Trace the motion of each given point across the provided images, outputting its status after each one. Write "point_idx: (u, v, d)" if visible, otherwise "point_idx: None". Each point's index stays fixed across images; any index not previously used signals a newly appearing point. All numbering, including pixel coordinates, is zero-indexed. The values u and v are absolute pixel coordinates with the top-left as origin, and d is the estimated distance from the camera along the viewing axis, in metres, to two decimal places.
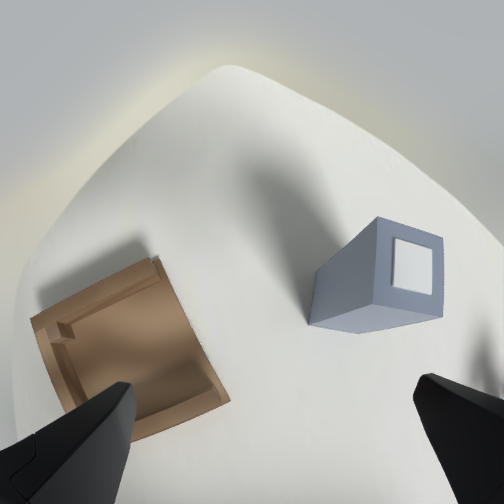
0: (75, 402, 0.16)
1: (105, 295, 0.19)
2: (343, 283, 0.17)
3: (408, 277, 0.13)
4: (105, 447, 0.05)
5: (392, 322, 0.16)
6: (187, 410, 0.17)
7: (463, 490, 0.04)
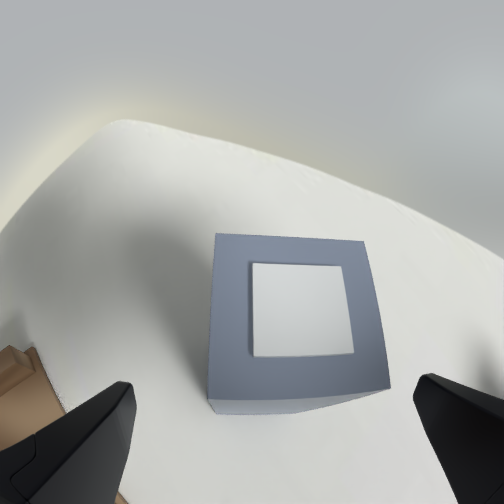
0: None
1: None
2: None
3: (289, 332, 0.07)
4: (105, 447, 0.05)
5: (310, 405, 0.09)
6: None
7: (463, 490, 0.04)
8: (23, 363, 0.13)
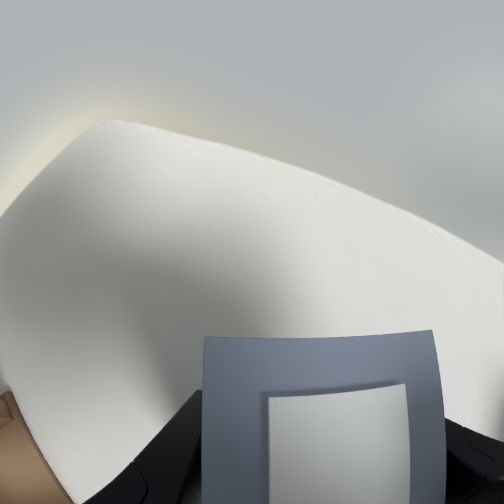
0: None
1: None
2: None
3: (324, 501, 0.03)
4: None
5: None
6: None
7: None
8: None
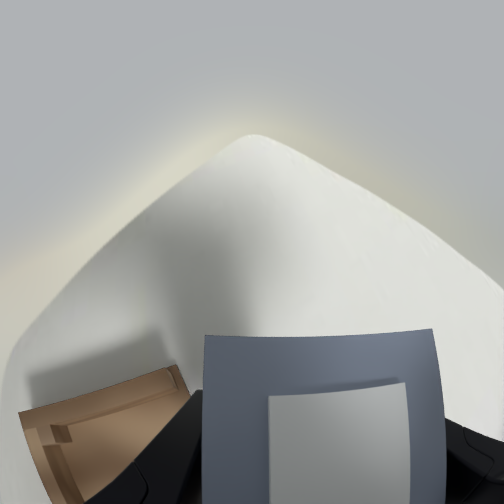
0: None
1: (110, 406, 0.14)
2: None
3: (324, 499, 0.03)
4: None
5: None
6: None
7: None
8: (174, 384, 0.16)
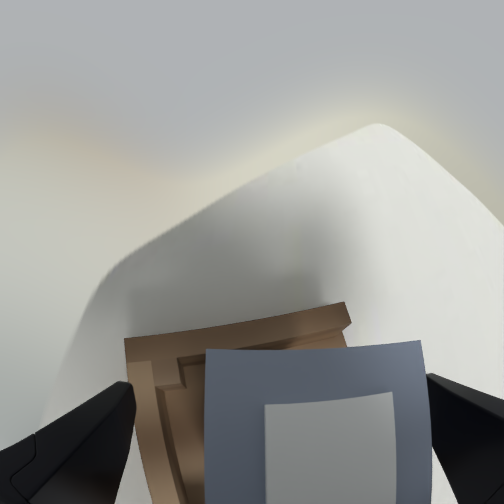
0: (175, 483, 0.09)
1: (275, 339, 0.13)
2: None
3: (315, 499, 0.04)
4: (105, 447, 0.05)
5: None
6: None
7: (463, 490, 0.04)
8: None
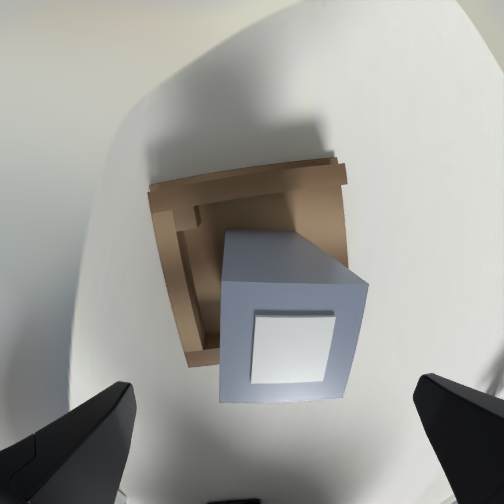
0: (193, 309, 0.17)
1: (278, 191, 0.16)
2: None
3: (278, 369, 0.09)
4: (105, 447, 0.05)
5: None
6: None
7: (463, 490, 0.04)
8: None
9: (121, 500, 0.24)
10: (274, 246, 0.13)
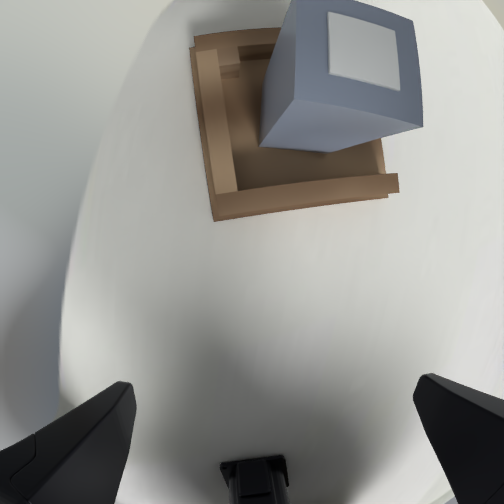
0: (230, 142, 0.15)
1: None
2: (275, 84, 0.11)
3: (355, 62, 0.07)
4: (105, 447, 0.05)
5: (353, 134, 0.11)
6: (368, 185, 0.16)
7: (463, 490, 0.04)
8: None
9: None
10: None
